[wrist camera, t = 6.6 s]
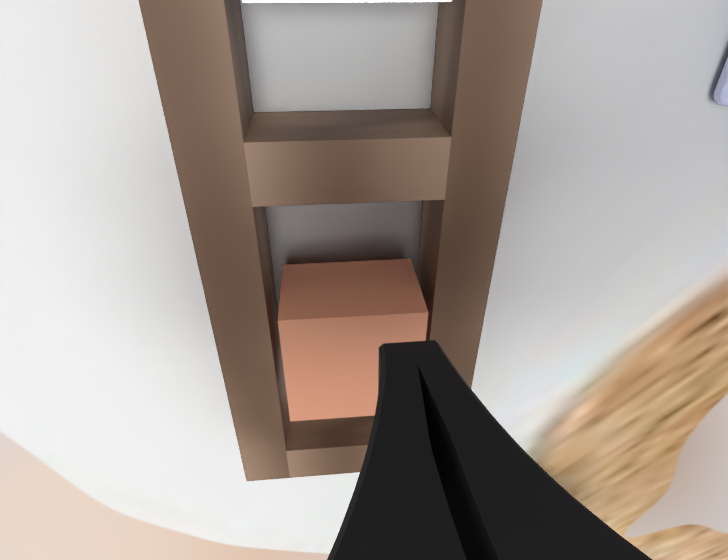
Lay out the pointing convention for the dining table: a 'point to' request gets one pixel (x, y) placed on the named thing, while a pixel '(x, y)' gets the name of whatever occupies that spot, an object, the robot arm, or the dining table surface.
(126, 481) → the dining table surface
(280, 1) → the silver metal block
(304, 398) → the salmon pink cube
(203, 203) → the brown ladder-shaped frame
